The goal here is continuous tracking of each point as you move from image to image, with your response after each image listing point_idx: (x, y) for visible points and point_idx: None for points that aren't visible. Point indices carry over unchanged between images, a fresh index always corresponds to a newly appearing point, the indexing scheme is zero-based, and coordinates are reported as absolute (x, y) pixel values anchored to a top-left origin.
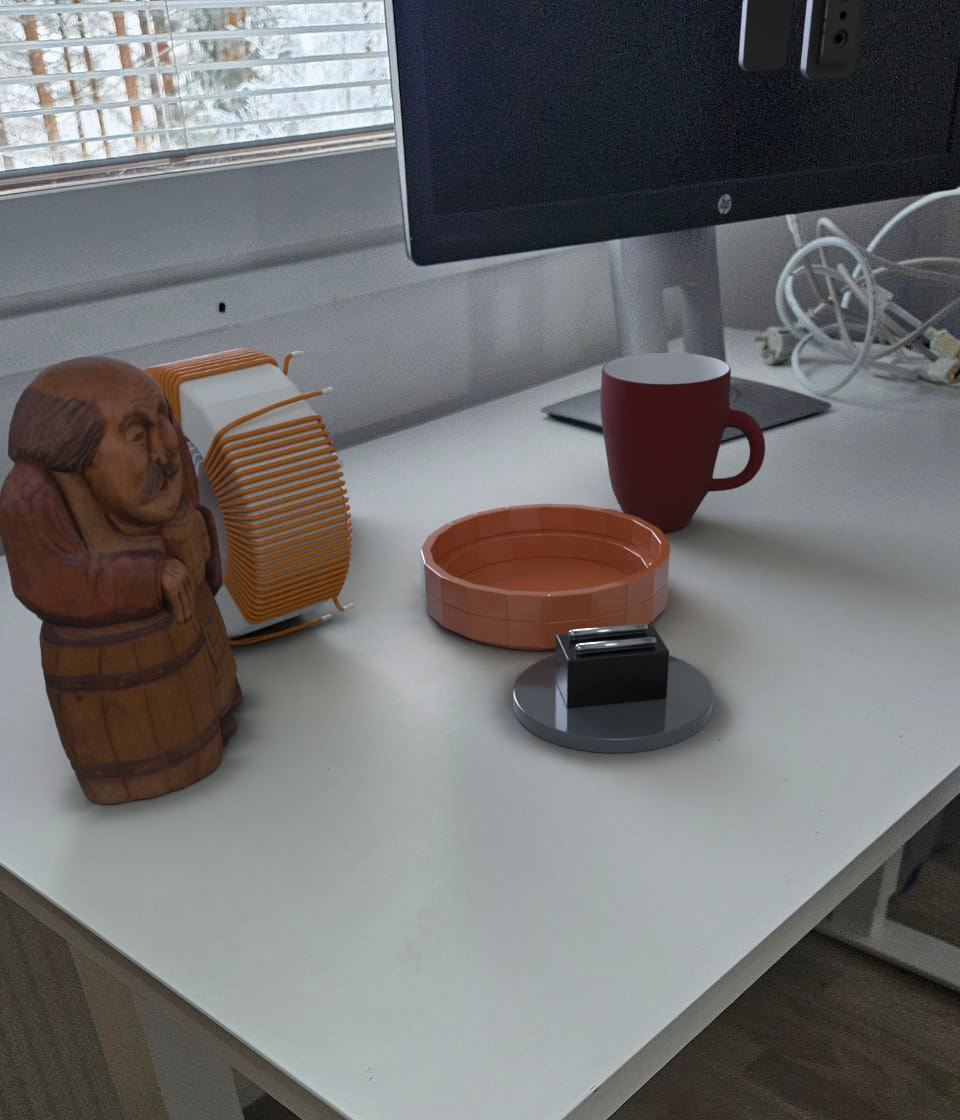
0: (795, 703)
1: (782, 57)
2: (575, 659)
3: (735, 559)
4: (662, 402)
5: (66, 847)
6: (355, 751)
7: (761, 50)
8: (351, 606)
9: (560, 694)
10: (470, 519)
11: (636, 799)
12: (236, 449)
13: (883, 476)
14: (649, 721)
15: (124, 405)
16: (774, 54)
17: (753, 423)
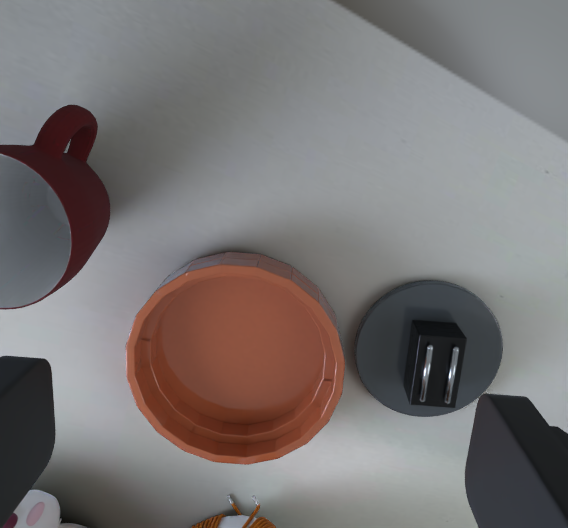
0: (471, 224)
1: (38, 375)
2: (455, 403)
3: (185, 159)
4: (79, 256)
5: None
6: (431, 505)
7: (34, 439)
8: (255, 498)
9: None
10: (151, 411)
11: (551, 369)
12: None
13: None
14: (483, 343)
15: None
16: (35, 399)
17: (67, 126)
